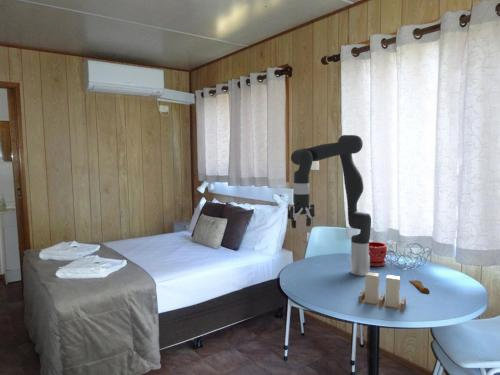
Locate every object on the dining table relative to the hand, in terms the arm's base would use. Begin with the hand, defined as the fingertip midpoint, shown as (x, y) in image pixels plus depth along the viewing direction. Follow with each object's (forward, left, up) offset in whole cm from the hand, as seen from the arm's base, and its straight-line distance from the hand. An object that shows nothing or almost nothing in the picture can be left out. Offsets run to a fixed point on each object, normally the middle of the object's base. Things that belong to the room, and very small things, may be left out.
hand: (301, 227), depth 168 cm
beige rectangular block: (-15, +29, -29) cm, 44 cm away
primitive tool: (-50, +28, -31) cm, 65 cm away
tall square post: (-19, +37, -29) cm, 50 cm away
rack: (-17, +33, -30) cm, 48 cm away
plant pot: (-62, -9, -30) cm, 70 cm away
